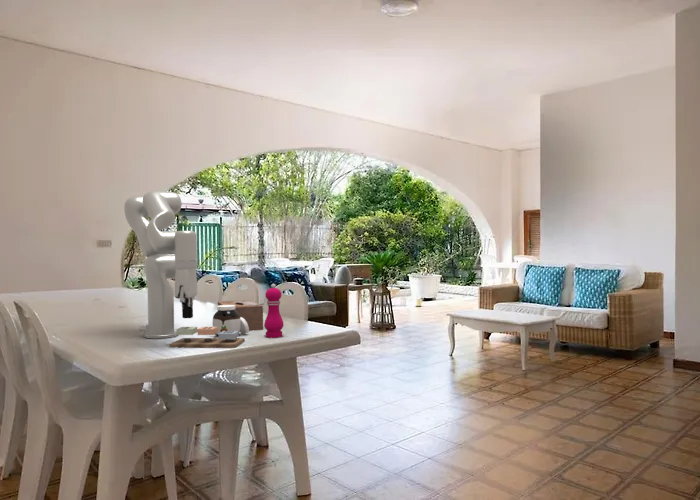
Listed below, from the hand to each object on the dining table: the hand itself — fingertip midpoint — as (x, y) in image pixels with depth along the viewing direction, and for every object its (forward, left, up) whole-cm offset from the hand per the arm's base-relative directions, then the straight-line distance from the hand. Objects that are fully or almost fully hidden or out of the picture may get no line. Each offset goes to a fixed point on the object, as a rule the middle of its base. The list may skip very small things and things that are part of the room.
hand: (187, 317), depth 194 cm
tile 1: (0, 0, -6) cm, 6 cm away
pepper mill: (+27, +17, -10) cm, 33 cm away
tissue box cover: (+7, +41, -10) cm, 43 cm away
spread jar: (+10, +19, -10) cm, 24 cm away
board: (+7, 0, -10) cm, 12 cm away
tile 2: (+7, 0, -6) cm, 9 cm away
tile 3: (+15, 0, -7) cm, 16 cm away
